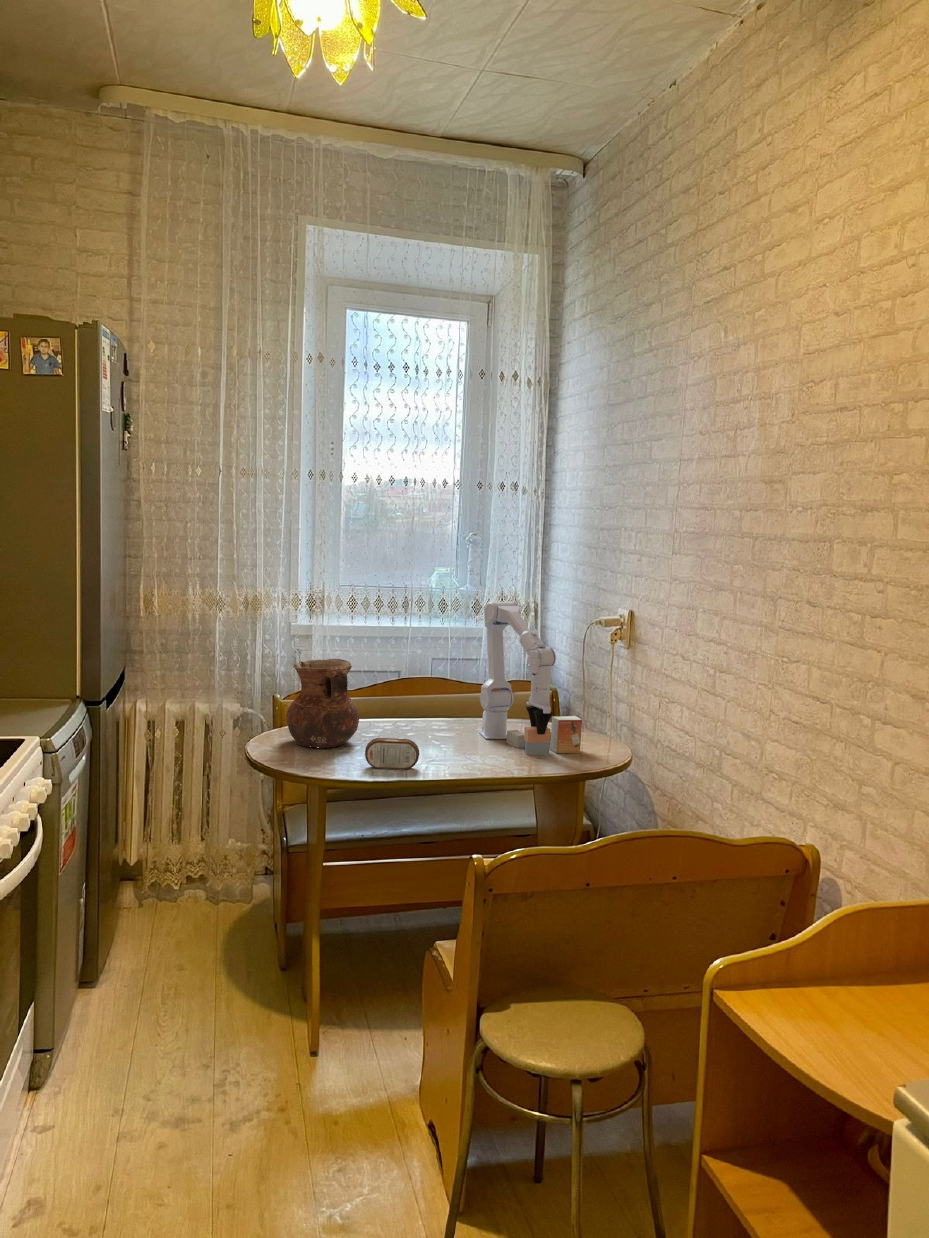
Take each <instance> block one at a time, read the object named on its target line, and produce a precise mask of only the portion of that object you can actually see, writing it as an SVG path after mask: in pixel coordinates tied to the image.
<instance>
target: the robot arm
mask: <svg viewBox="0 0 929 1238" xmlns="http://www.w3.org/2000/svg"><path fill="white" fill-rule="evenodd" d="M483 613H484V615H483V616H484V618H483V619H484V627H485V629H486V630H485V631H486V650H487V651H486V652H487V653H486V654H487V672H488V673H487V675H488V677H487V679H488V680H486V681H485V682H484V683H483V684H482V685H481V689H480V690H481V691H480V695H479V703H480V705H481V707H482V710H483V711H482V712H483V713H482V720H481V721H482V722H481V723H482V724H481V725H482V726H481V730H479V731H478V733H479V734H480V735H481V736H482V737H484V739H486V740H507V727H508V723H507V722H508V711H509V710H510V707H512V705H513V704H514V700H515V699H514V698H515V697H514V693H513V690H512V685H511V683H510V682H508V681H507V680H506V677H505V675H506V674H505V655H504V651H505V650H504V630H505V629H506V627H508V626H510V627H511V628H512V630H513V631H515V633H516V634H517V635H518V636H519V644H520V645H521V646H522V648H523V649H524V650H525V652H526V654H527V655H528V656H527V657H528V663H529V670H530V672H531V676H530V677H531V680H530V696H529V697H528V701H526V703H525V704H526V705H528V706H525V709H526V711H527V714H528V718H529V723H530V727H537V734H538V735H543V734H545V732H546V728H547V727H548V725H549V722H550V720H551V719H552V716H553V714H554V713H553V711H551V710H552V708H551V702H550V694H551V693H550V691H551V677H552V676H551V674H552V672H551V671H552V667H554V665H555V663H556V660H557V657H556V653H555V651H554V649H553V647H550V646H547V645H545V643H544V642H543V641H542V640H541V639H540V637H539V636H538V633H537V631H535V630H530V629H529V628H528V626H527V624H526V622H525V621H524V619H523V617H522V615H521V606H519V604H518V603H517V601H514V600H511V601H492V600H491V601H488V602H487V603H486V605H485V607H484V608H483Z"/></svg>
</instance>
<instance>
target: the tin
mask: <svg viewBox="0 0 929 1238" xmlns="http://www.w3.org/2000/svg"><path fill="white" fill-rule="evenodd" d="M364 756H365V760H366V762H367V763H368V765H369V766H370V767H372V768H374V769H377V768H390V769H389V770H400V769H404V770H405V769H406V770H410V769H412V768H413V767H414V766H416V764H417V763H418V761H419V757H420V749H419V747H418V745H417V743H416V742H415V741H413V740H411V739H409V738H396V737H395V738H394V737H393V738H392V737H375V738H373V739H371V740H370V741H369V742H368V743H367V745H366V746H365V751H364ZM404 770H403V771H404Z"/></svg>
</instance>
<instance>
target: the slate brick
mask: <svg viewBox="0 0 929 1238" xmlns="http://www.w3.org/2000/svg"><path fill="white" fill-rule="evenodd" d="M550 751H551V749H550V742H536V743H528V742H526V741H525V747H524V753H525V755H528V756H550Z"/></svg>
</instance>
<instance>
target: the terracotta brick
mask: <svg viewBox="0 0 929 1238" xmlns="http://www.w3.org/2000/svg"><path fill="white" fill-rule="evenodd" d="M550 732H551V728H549V727H548V726H547V728H546V732H545V734H543V735H538V734H537V727H531V726H525V727H524V732H523V733H524V740H525V741H526V742H528V743H536V742H550Z"/></svg>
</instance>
